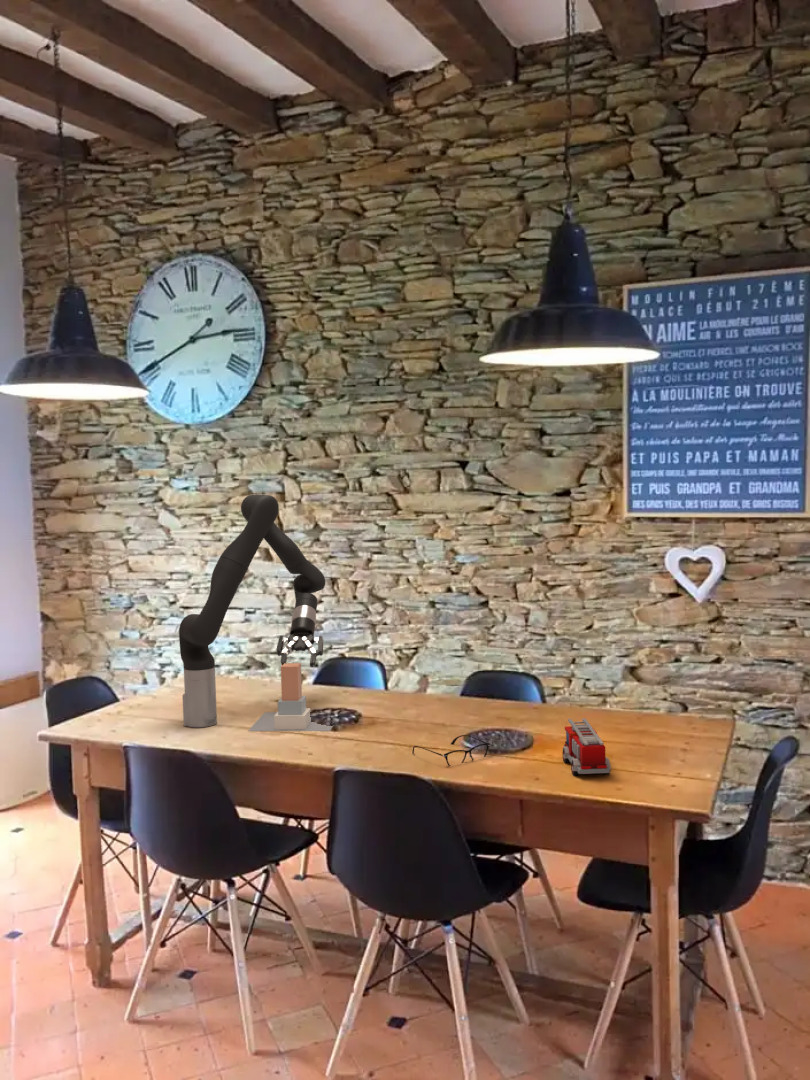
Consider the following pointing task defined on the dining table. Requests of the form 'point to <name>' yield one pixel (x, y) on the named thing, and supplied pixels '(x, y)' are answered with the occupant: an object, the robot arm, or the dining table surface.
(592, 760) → the toy fire truck
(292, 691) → the terracotta brick
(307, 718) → the tower base
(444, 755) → the eyeglasses
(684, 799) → the dining table surface
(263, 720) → the baseplate
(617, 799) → the dining table surface
